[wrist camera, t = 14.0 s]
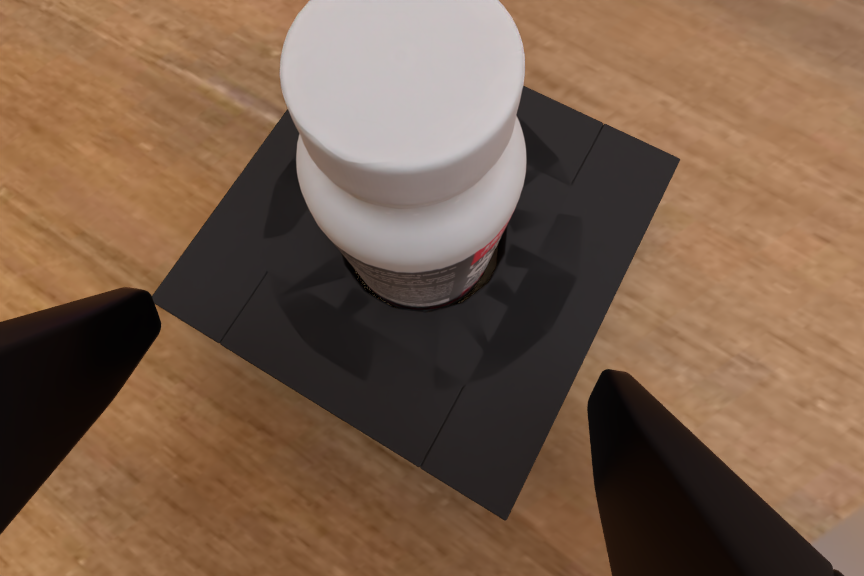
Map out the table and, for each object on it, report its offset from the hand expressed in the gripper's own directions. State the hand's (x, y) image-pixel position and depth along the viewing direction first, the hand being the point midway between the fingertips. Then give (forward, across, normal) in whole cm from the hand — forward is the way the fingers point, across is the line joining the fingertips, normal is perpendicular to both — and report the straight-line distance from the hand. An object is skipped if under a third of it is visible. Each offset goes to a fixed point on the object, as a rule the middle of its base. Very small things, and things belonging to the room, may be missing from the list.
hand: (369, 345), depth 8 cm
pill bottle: (+8, 0, +2) cm, 9 cm away
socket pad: (+8, 0, +2) cm, 9 cm away
